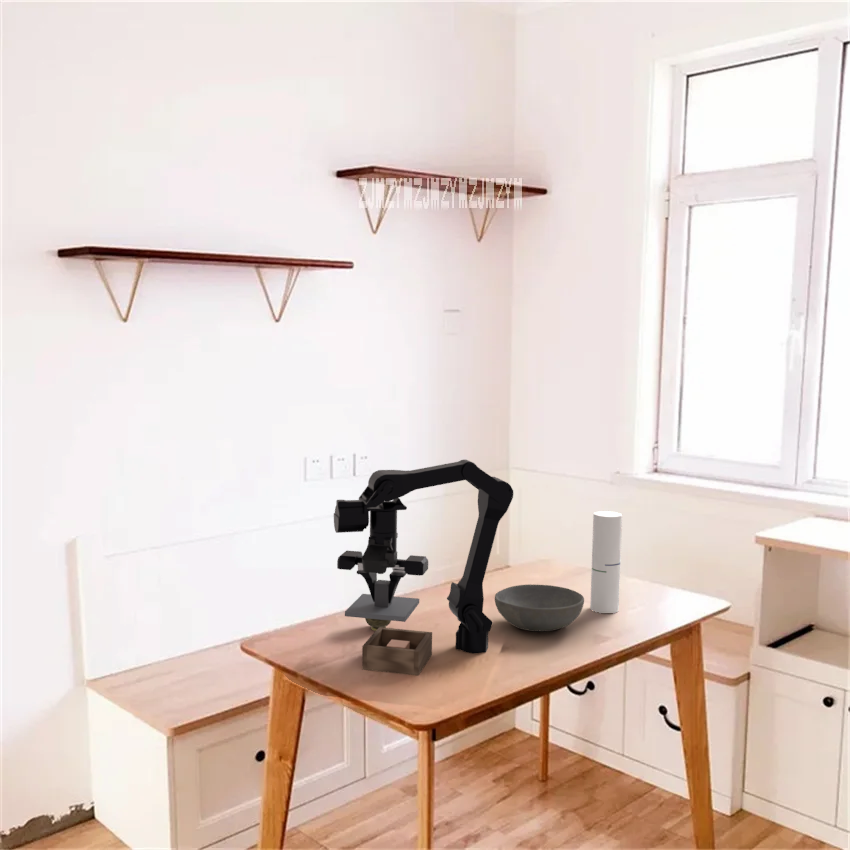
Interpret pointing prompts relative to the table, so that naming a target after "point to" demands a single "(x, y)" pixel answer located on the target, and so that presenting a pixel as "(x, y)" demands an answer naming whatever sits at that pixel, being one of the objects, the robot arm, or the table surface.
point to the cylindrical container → (606, 561)
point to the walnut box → (397, 651)
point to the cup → (377, 623)
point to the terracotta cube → (399, 644)
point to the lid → (382, 605)
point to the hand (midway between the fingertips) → (382, 602)
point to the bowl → (539, 606)
